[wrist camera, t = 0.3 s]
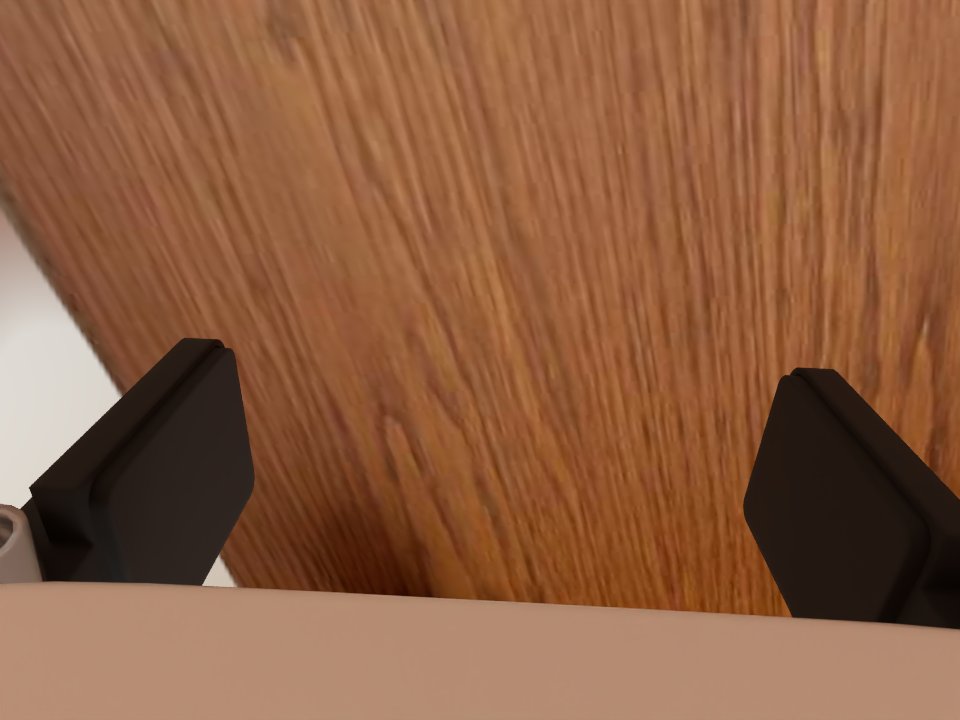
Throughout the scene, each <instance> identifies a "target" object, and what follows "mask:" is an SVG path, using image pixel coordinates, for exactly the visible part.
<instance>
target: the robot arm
mask: <svg viewBox="0 0 960 720" xmlns="http://www.w3.org/2000/svg"><path fill="white" fill-rule="evenodd" d="M254 478H255V476H254V468H253V462H252V456H251V450H250V444H249V438H248V431H247V425H246V419H245V413H244V407H243V401H242V395H241V389H240V383H239V377H238V371H237V365H236V359H235V354H234V352H233V350H232V349H231V348H225V347H224V345H223V343H222V342H221V341H220V340H218V339H198V338H184V339H182V340H181V341H180V342H179V343H177V344H176V345H175V346H174V347H173V348H172V349H171V350H170V351H169V352H168V353H167V354H166V355H165V356H164V357H163V358H162V359H161V360H160V361H159V362H158V363H157V364H156V365H155V366H154V367H153V368H152V369H151V370H150V371H149V372H148V373H147V374H146V375H144V376H143V377H142V378H141V379H140V380H139V381H138V382H137V383H136V384H135V385H134V386H133V387H132V388H131V389H130V390H129V391H128V392H127V393H126V394H125V395H124V396H123V397H122V398H121V399H120V400H119V401H118V402H117V403H116V404H115V405H114V406H113V407H111V408H110V410H108V411H107V412H106V414H104V415H103V416H102V417H101V418H100V419H99V420H98V421H97V422H96V423H95V424H94V425H93V426H92V427H91V428H90V429H89V430H88V431H87V432H86V433H85V434H84V435H83V436H82V437H81V438H80V439H79V440H78V441H76V443H74V444H73V445H72V446H71V447H70V448H69V449H68V450H67V451H66V452H65V453H64V454H63V455H62V456H61V457H60V458H59V459H58V460H57V461H56V462H55V463H54V464H53V465H52V466H51V467H50V468H49V469H48V470H47V471H46V472H45V473H44V474H43V475H41V476H40V477H39V478H38V479H37V480H36V481H35V482H34V483H33V484H32V485H31V486H30V487H29V489H30V491H31V494H32V498H31V499H30V500H29V501H28V502H27V503H26V504H25V505H24V506H23V507H22V508H21V509H18V508H16V507H14V506H12V505H3V504H0V720H960V500H959V499H958V498H957V497H956V496H955V494H954V493H953V492H952V491H951V490H950V489H949V488H948V487H947V486H946V485H945V484H944V483H943V482H942V481H941V480H940V479H939V478H938V477H937V476H936V475H935V474H934V473H933V472H932V470H931V469H930V468H929V467H928V466H927V465H926V464H925V463H924V462H923V461H922V460H921V459H920V458H919V457H918V456H917V455H916V454H915V453H914V452H913V451H912V450H911V449H910V447H909V446H908V445H907V444H906V443H905V442H904V441H903V440H902V439H901V438H900V437H899V436H898V435H897V434H896V433H895V432H894V431H893V430H892V429H891V428H890V427H889V426H888V425H887V423H886V422H885V421H884V420H883V419H882V418H881V417H880V416H879V415H878V414H877V413H876V412H875V411H874V410H873V409H872V408H871V407H870V406H869V405H868V404H867V403H866V402H865V400H864V399H863V398H862V397H861V396H860V395H859V394H858V393H857V392H856V391H855V390H854V389H853V388H852V387H851V386H850V385H849V384H848V383H847V382H846V381H845V380H844V379H843V378H842V376H841V375H840V374H839V373H838V372H836V371H835V370H834V369H818V368H796V369H794V370H793V371H792V373H791V374H790V375H785V376H783V377H782V378H781V379H780V381H779V384H778V387H777V390H776V393H775V397H774V400H773V404H772V407H771V410H770V414H769V417H768V420H767V424H766V427H765V430H764V434H763V437H762V440H761V444H760V447H759V451H758V454H757V457H756V461H755V464H754V467H753V471H752V474H751V477H750V481H749V484H748V487H747V491H746V494H745V498H744V505H743V509H744V516H745V519H746V522H747V524H748V526H749V528H750V530H751V532H752V534H753V536H754V538H755V540H756V543H757V545H758V547H759V549H760V551H761V553H762V555H763V557H764V559H765V561H766V563H767V565H768V567H769V569H770V571H771V573H772V575H773V578H774V580H775V582H776V584H777V586H778V588H779V590H780V592H781V594H782V596H783V598H784V600H785V602H786V604H787V606H788V608H789V610H790V613H791V615H792V617H793V618H791V617H774V616H757V615H741V614H724V613H707V612H689V611H671V610H652V609H634V608H615V607H597V606H578V605H560V604H542V603H524V602H505V601H485V600H467V599H448V598H429V597H411V596H393V595H374V594H356V593H338V592H317V591H297V590H276V589H256V588H235V587H215V586H202V584H203V583H204V581H205V579H206V577H207V575H208V573H209V571H210V569H211V568H212V566H213V564H214V562H215V560H216V558H217V557H218V555H219V553H220V551H221V549H222V547H223V546H224V544H225V542H226V540H227V538H228V536H229V535H230V533H231V531H232V529H233V527H234V525H235V523H236V522H237V520H238V518H239V516H240V514H241V512H242V511H243V509H244V507H245V505H246V503H247V501H248V499H249V498H250V496H251V493H252V491H253V487H254Z"/></svg>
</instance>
